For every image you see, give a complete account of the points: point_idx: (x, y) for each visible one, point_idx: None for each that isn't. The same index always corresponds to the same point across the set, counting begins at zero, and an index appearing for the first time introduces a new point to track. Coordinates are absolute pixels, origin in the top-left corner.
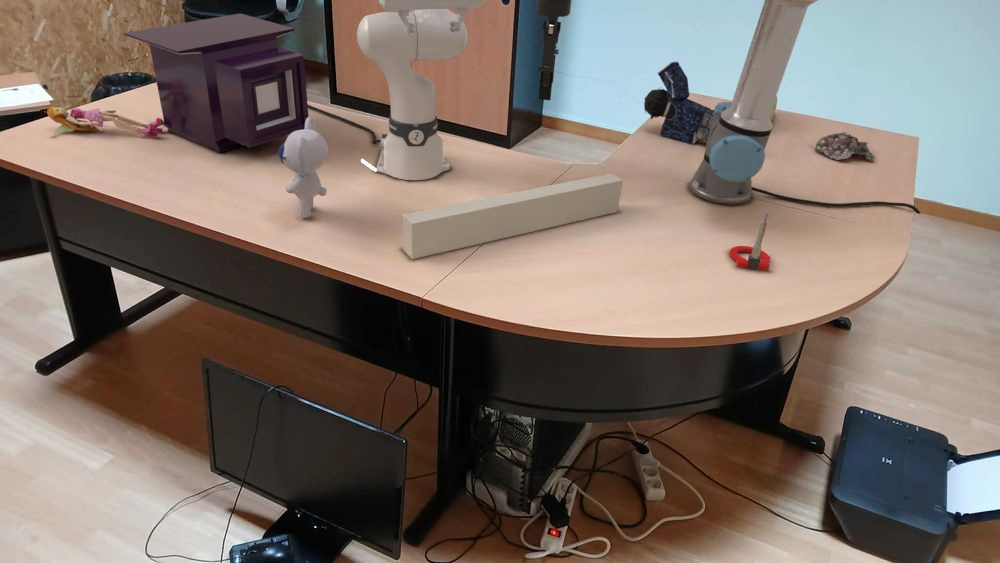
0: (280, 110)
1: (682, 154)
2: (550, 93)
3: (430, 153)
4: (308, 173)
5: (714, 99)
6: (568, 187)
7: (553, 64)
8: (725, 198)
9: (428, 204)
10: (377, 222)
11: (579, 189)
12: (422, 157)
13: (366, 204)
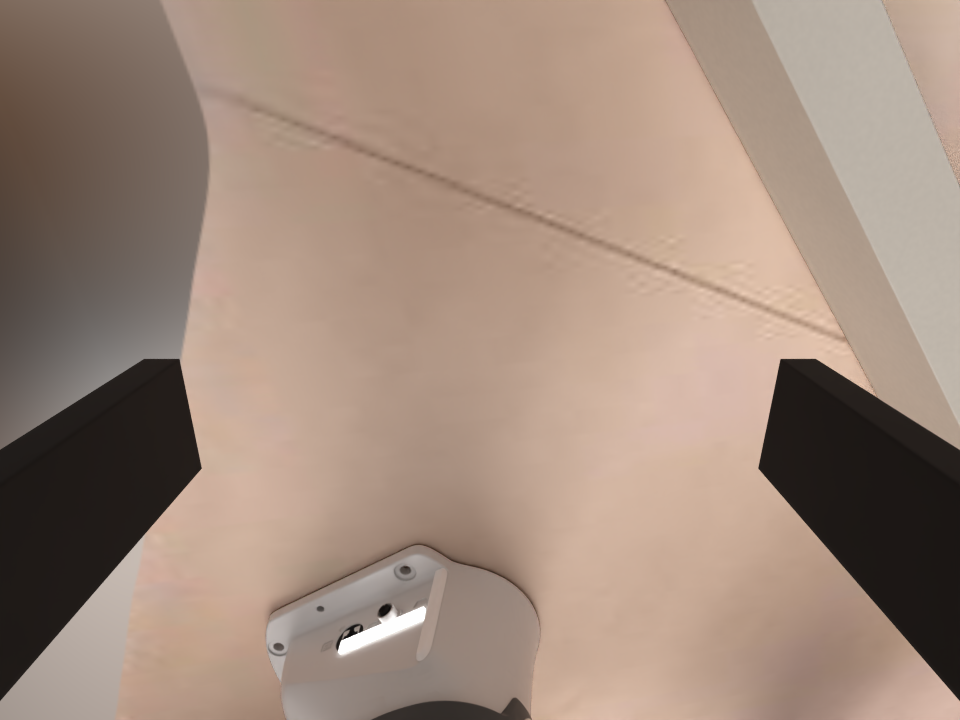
0: None
1: None
2: (864, 395)
3: (493, 650)
4: None
5: None
6: (875, 102)
7: (22, 488)
8: None
9: (691, 559)
10: (812, 648)
11: (897, 38)
12: (519, 661)
13: (707, 688)
